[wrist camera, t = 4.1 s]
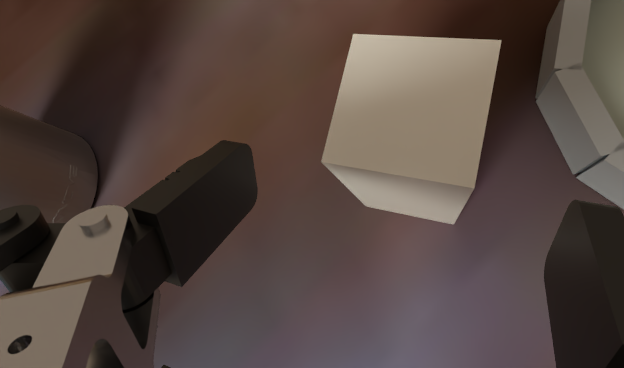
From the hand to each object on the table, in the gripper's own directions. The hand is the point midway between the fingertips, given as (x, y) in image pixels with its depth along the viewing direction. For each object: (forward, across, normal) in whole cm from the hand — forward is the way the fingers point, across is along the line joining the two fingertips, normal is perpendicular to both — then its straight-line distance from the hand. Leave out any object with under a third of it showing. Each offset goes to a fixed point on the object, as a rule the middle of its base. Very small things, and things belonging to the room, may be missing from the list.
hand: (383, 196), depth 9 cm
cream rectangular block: (+10, 0, +5) cm, 11 cm away
